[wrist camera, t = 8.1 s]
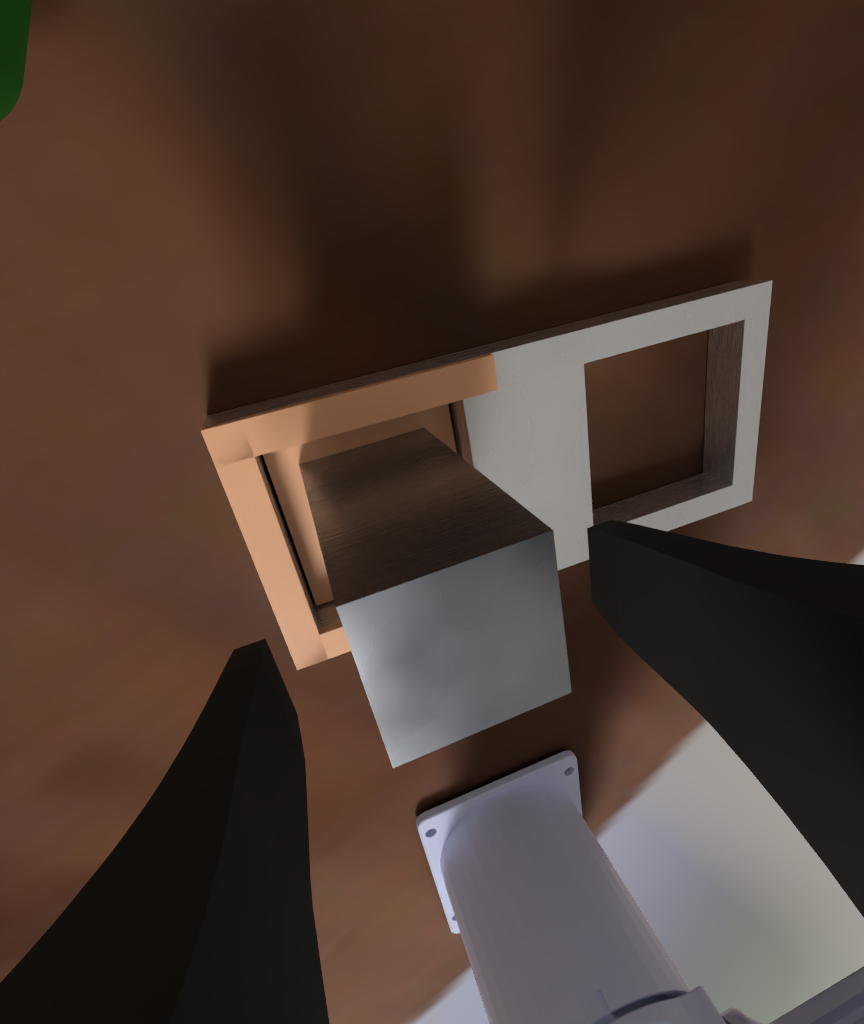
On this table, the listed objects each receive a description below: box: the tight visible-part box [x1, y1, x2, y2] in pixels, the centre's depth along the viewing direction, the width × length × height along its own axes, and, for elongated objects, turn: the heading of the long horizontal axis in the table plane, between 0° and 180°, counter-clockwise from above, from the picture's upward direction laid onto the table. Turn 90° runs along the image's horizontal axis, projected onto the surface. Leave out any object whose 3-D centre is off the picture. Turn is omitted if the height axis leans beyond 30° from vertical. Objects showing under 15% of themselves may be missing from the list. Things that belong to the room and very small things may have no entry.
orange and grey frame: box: [202, 280, 773, 629], centre depth 17 cm, size 8×18×2 cm, turn 101°
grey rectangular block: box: [299, 428, 572, 768], centre depth 13 cm, size 4×4×8 cm
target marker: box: [201, 354, 498, 670], centre depth 16 cm, size 8×8×2 cm
